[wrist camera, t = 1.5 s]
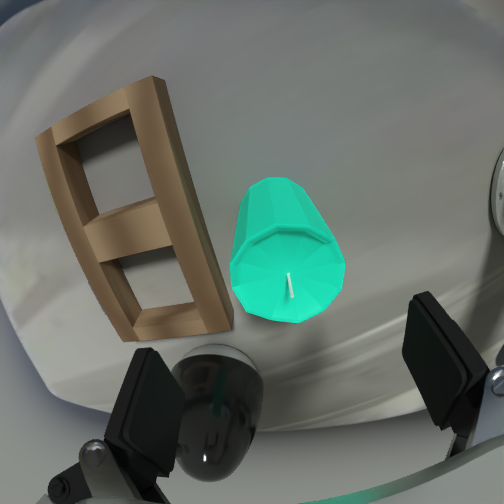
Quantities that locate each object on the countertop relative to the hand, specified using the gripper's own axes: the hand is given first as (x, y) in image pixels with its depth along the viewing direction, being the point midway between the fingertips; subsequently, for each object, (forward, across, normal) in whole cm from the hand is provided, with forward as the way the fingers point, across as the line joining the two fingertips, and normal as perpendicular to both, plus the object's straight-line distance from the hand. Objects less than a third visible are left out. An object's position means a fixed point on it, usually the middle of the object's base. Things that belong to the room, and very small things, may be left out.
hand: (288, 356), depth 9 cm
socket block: (+16, +11, -2) cm, 19 cm away
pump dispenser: (+16, +9, +16) cm, 24 cm away
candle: (+16, -1, 0) cm, 16 cm away
